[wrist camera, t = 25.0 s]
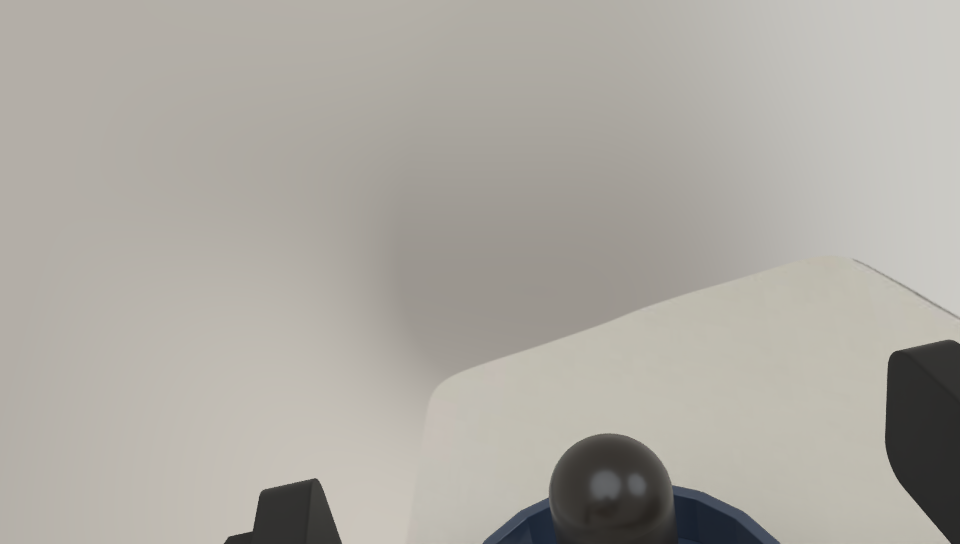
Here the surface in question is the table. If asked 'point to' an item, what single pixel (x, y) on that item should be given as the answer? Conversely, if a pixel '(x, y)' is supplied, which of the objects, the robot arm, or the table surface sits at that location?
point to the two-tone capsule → (612, 494)
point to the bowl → (699, 517)
